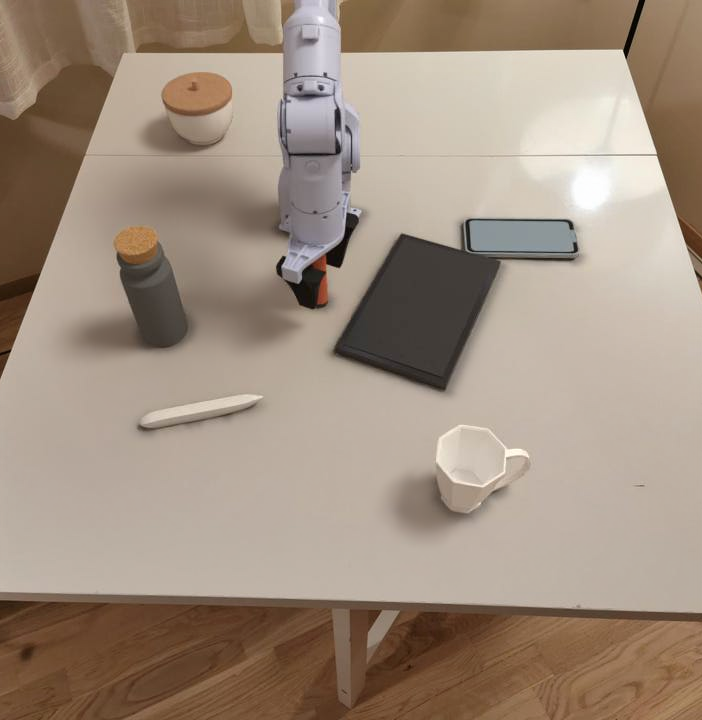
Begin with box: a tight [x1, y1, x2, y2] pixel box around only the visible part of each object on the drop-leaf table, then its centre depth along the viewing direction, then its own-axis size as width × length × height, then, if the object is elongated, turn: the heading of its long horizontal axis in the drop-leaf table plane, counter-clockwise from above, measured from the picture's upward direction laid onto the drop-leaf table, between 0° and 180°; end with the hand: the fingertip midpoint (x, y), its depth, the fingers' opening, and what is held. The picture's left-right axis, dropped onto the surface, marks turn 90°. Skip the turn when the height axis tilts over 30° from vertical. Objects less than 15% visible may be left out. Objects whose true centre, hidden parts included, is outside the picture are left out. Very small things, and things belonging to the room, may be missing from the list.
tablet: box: [334, 232, 502, 392], centre depth 89 cm, size 14×22×1 cm, turn 156°
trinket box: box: [160, 71, 234, 146], centre depth 110 cm, size 11×11×9 cm
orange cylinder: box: [311, 254, 329, 309], centre depth 87 cm, size 2×2×8 cm
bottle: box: [113, 225, 189, 349], centre depth 82 cm, size 6×6×15 cm
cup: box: [434, 423, 531, 514], centre depth 70 cm, size 7×10×8 cm
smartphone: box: [462, 217, 581, 259], centre depth 96 cm, size 7×1×15 cm
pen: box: [139, 393, 264, 429], centre depth 79 cm, size 2×14×2 cm, turn 102°
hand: (320, 284), depth 88 cm, fingers open, 7 cm apart
